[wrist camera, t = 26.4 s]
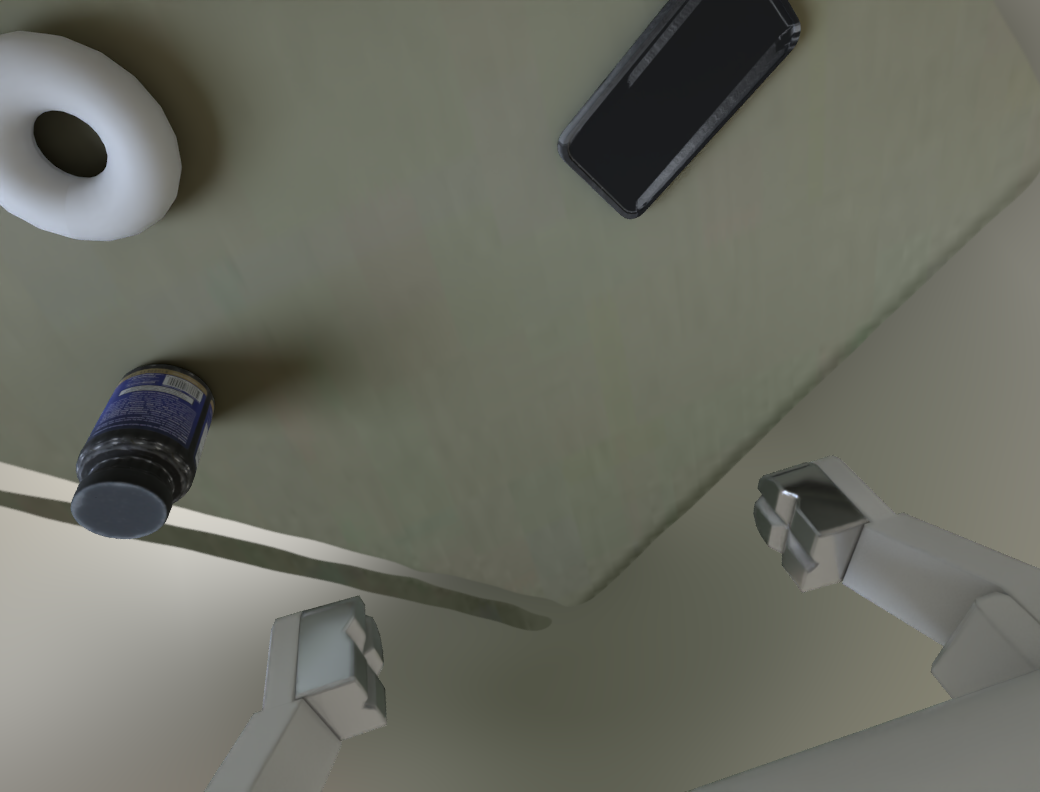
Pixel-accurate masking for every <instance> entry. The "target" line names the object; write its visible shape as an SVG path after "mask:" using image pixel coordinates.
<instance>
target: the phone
mask: <svg viewBox="0 0 1040 792" xmlns="http://www.w3.org/2000/svg"><path fill="white" fill-rule="evenodd" d="M800 31H801V27H800V22H799V19H798V17H797V15H796V14H795V12H794V10H793V9H792V7H791V5H790V3H789V2H788V0H669V1H668V2H667V3H666V5H665V6H664V7H663V8H662V9H661V11H660V12H659V13H658V14H657V16H656V17H655V18H654V19H653V21H652V22H651V23H650V24H649V26H648V27H647V28H646V29H645V31H644V32H643V33H642V34H641V35H640V37H639V38H638V39H637V40H636V42H635V43H634V44H633V45H632V47H631V48H630V49H629V50H628V52H627V53H626V54H625V55H624V57H623V58H622V59H621V60H620V61H619V63H618V64H617V65H616V66H615V68H614V69H613V70H612V71H611V73H610V74H609V75H608V76H607V78H606V79H605V80H604V81H603V83H602V84H601V85H600V86H599V87H598V89H597V90H596V91H595V92H594V94H593V95H592V96H591V97H590V99H589V100H588V101H587V102H586V104H585V105H584V106H583V107H582V109H581V110H580V111H579V112H578V113H577V115H576V116H575V117H574V118H573V120H572V121H571V122H570V123H569V125H568V126H567V127H566V128H565V130H564V131H563V132H562V134H561V135H560V137H559V140H558V152H559V155H560V156H561V158H562V159H563V160H564V161H565V162H566V163H567V164H568V165H569V166H570V167H571V168H572V169H573V170H574V171H575V172H576V173H577V174H578V175H579V176H580V177H582V178H583V179H584V180H585V181H586V182H587V183H588V184H589V185H590V186H591V187H592V188H593V189H594V190H595V191H596V192H597V193H598V194H599V195H600V196H601V197H602V198H603V199H604V200H605V201H606V202H607V203H609V204H610V205H611V206H612V207H613V208H614V209H615V210H616V211H617V212H618V213H619V214H620V215H621V216H623V217H624V218H627V219H634V218H637V217H639V216H641V215H642V214H643V213H644V212H645V211H646V210H647V209H648V208H649V207H650V205H651V204H652V203H653V202H654V201H655V200H656V199H657V198H658V197H659V196H660V194H661V193H662V192H663V191H664V190H665V189H666V188H667V187H668V186H669V185H670V184H671V182H672V181H673V180H674V179H675V178H676V177H677V176H678V175H679V174H680V173H681V171H682V170H683V169H684V168H685V167H686V166H687V165H688V164H689V163H690V162H691V160H692V159H693V158H694V157H695V156H696V155H697V154H698V153H699V152H700V151H701V150H702V148H703V147H704V146H705V145H706V144H707V143H708V142H709V141H710V140H711V139H712V137H713V136H714V135H715V134H716V133H717V132H718V131H719V130H720V129H721V128H722V127H723V125H724V124H725V123H726V122H727V121H728V120H729V119H730V118H731V117H732V116H733V114H734V113H735V112H736V111H737V110H738V109H739V108H740V107H741V106H742V105H743V103H744V102H745V101H746V100H747V99H748V98H749V97H750V96H751V95H752V94H753V93H754V91H755V90H756V89H757V88H758V87H759V86H760V85H761V84H762V83H763V82H764V80H765V79H766V78H767V77H768V76H769V75H770V74H771V73H772V72H773V71H774V69H775V68H776V67H777V66H778V65H779V64H780V63H781V62H782V61H783V60H784V59H785V57H786V56H787V55H788V54H789V53H790V52H791V51H792V50H793V48H794V47H795V45H796V44H797V42H798V39H799V36H800Z"/></svg>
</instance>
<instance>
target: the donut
mask: <svg viewBox="0 0 1040 792" xmlns="http://www.w3.org/2000/svg"><path fill="white" fill-rule="evenodd" d="M52 110H55V111H63V112H66V113H69V114H71V115H74V116H77V117H78V118H80V119H81V120H83V121H84V122H86V123H87V124H89V125H90V126H91V127H92V128H93V130H94V131H95V132H96V133H97V134H98V135H99V137H100V138H101V140H102V142H103V143H104V145H105V148H106V152H107V156H108V158H107V166H106V168H105V169H104V171H103V172H102V173H100V174H99V175H97V176H95V177H91V178H88V177H77V176H74V175H71V174H68V173H66V172H64V171H62V170H61V169H59V168H57V167H56V166H54V165H53V164H52V163H51V162H50V161H49V160H48V159H47V158H46V157H45V156H44V155H43V154H42V152H41V151H40V149H39V148H38V146H37V144H36V141H35V137H34V134H33V132H34V122H35V120H36V118H37V117H38V116H39V115H41V114H42V113H44V112H47V111H52ZM181 169H182V165H181V159H180V154H179V148H178V143H177V137H176V135H175V133H174V131H173V129H172V128H171V126H170V124H169V122H168V120H167V118H166V116H165V114H164V112H163V110H162V108H161V106H160V105H159V104H158V103H157V101H156V100H155V99H154V98H153V97H152V96H151V95H150V93H149V92H148V91H147V90H146V89H145V88H144V86H143V85H142V84H141V83H140V82H139V81H138V80H137V78H136V77H135V76H133V75H132V74H130V73H129V72H128V71H126V70H125V69H124V68H122V67H121V66H119V65H118V64H117V63H115V62H114V61H113V60H111V59H110V58H108V57H107V56H106V55H104V54H103V53H101V52H99V51H97V50H94V49H92V48H89V47H87V46H85V45H82V44H80V43H77V42H75V41H73V40H70V39H68V38H65V37H63V36H57V35H50V34H42V33H35V32H27V31H14V32H9V33H4V34H0V205H1V206H2V207H3V208H4V209H6V210H7V211H8V212H10V213H12V214H14V215H16V216H17V217H19V218H21V219H23V220H25V221H27V222H29V223H30V224H32V225H34V226H36V227H38V228H40V229H42V230H46V231H49V232H53V233H56V234H59V235H63V236H66V237H70V238H73V239H77V240H95V241H112V240H116V239H121V238H125V237H129V236H133V235H137V234H139V233H141V232H143V231H144V230H146V229H147V228H149V227H150V226H152V225H153V224H155V223H156V222H158V221H159V220H161V219H162V218H163V217H164V215H165V214H166V212H167V211H168V209H169V208H170V206H171V205H172V203H173V202H174V200H175V199H176V197H177V192H178V187H179V181H180V175H181Z"/></svg>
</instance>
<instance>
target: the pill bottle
mask: <svg viewBox="0 0 1040 792" xmlns="http://www.w3.org/2000/svg"><path fill="white" fill-rule="evenodd" d="M214 411H215V401H214V397H213V396H212V393H211V391H210V389H209V388H208V386H207V385H206V384H205V383H204V382H203V381H202V380H201V379H200V378H199V377H197V376H196V375H194V374H193V373H191V372H189V371H187V370H185V369H181V368H179V367H176V366H171V365H162V364H151V365H146V366H142V367H138V368H136V369H134V370H132V371H130V372H129V373H127V374H126V375H125V376H124V377H123V379H122V380H121V381H120V383H119V384H118V386H117V387H116V389H115V391H114V393H113V394H112V396H111V398H110V400H109V402H108V403H107V405H106V407H105V409H104V411H103V412H102V414H101V416H100V418H99V420H98V422H97V423H96V425H95V427H94V429H93V431H92V433H91V434H90V436H89V438H88V440H87V442H86V443H85V445H84V447H83V449H82V450H81V452H80V454H79V457H78V461H77V464H76V473H77V477H78V479H79V481H80V484H79V485H78V488H77V491H76V492H75V494H74V497H73V499H72V502H71V512H72V514H73V516H74V518H75V520H76V521H77V522H78V523H79V524H80V525H82V526H83V527H84V528H86V529H88V530H89V531H91V532H93V533H95V534H98V535H102V536H105V537H109V538H116V539H132V538H139V537H143V536H146V535H149V534H151V533H153V532H155V531H157V530H158V529H159V528H160V527H162V526H163V524H164V523H165V522H166V520H167V518H168V516H169V513H170V510H171V508H172V504H173V503H175V502H177V501H178V500H179V499H181V498H182V497H183V496H184V495H185V494H186V493H187V492H188V491H189V489H190V487H191V486H192V483H193V480H194V477H195V473H196V470H197V466H198V463H199V460H200V457H201V453H202V450H203V447H204V444H205V440H206V437H207V434H208V430H209V427H210V424H211V420H212V417H213V414H214Z"/></svg>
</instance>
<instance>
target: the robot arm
mask: <svg viewBox="0 0 1040 792" xmlns="http://www.w3.org/2000/svg"><path fill="white" fill-rule="evenodd" d="M758 490H759V491H760V492H761V493H762V495H761V497H760V498H759V499H758V500H757V501H756V502H755V506H754V518H755V522H756V526H757V528H758V531H759V533H760V535H761V536H762V538H763V539H764V541H765V542H766V544H767V545H768V547H770V548H772V549H774V550H776V551H778V552H780V553H782V566H783V567H784V569H785V570H786V571H787V573H788V574H789V576H790V577H791V578H792V580H793V581H794V582H795V584H796V585H797V586H798V588H799V589H800V590H801V592H806V591H810V590H813V589H817V588H820V587H824V586H827V585H831V584H834V583H838V582H841V581H843V582H842V584H844V585H845V586H847V587H849V588H850V589H852V590H853V591H855V592H856V593H858V594H860V595H861V596H863V597H865V598H866V599H868V600H869V601H871V602H873V603H874V604H876V605H877V606H879V607H881V608H882V609H884V610H886V611H887V612H889V613H891V614H892V615H894V616H896V617H897V618H899V619H900V620H902V621H903V622H905V623H907V624H908V625H910V626H912V627H913V628H915V629H916V630H918V631H920V632H921V633H923V634H925V635H926V636H928V637H930V638H931V639H933V640H934V641H936V642H938V643H939V644H941V645H943V646H944V647H943V648H942V650H941V652H940V653H939V654H938V656H937V657H936V659H935V660H934V662H933V663H932V668H931V673H932V674H933V675H934V676H935V678H936V679H937V680H938V682H939V683H940V684H941V685H942V687H943V688H944V689H945V690H946V692H947V693H948V694H949V695H950V697H951V698H952V699H951V700H948V701H945V702H942V703H939V704H936V705H933V706H930V707H928V708H925V709H922V710H919V711H916V712H914V713H911V714H908V715H905V716H902V717H899V718H896V719H893V720H890V721H887V722H885V723H882V724H879V725H876V726H873V727H870V728H868V729H864V730H862V731H859V732H856V733H853V734H850V735H847V736H844V737H841V738H839V739H836V740H833V741H830V742H827V743H824V744H821V745H818V746H816V747H813V748H810V749H807V750H804V751H802V752H798V753H796V754H793V755H790V756H787V757H784V758H781V759H778V760H776V761H773V762H770V763H767V764H764V765H761V766H758V767H756V768H753V769H750V770H747V771H744V772H741V773H738V774H735V775H732V776H730V777H727V778H724V779H721V780H718V781H715V782H712V783H709V784H707V785H704V786H701V787H698V788H695V789H693V790H689V791H686V792H1040V569H1039V568H1037V567H1035V566H1032V565H1030V564H1027V563H1025V562H1023V561H1020V560H1018V559H1015V558H1013V557H1010V556H1008V555H1005V554H1003V553H1001V552H998V551H996V550H993V549H991V548H989V547H986V546H984V545H981V544H979V543H976V542H974V541H972V540H969V539H967V538H964V537H961V536H959V535H957V534H954V533H952V532H950V531H947V530H945V529H942V528H940V527H938V526H935V525H933V524H930V523H928V522H925V521H923V520H920V519H918V518H916V517H913V516H910V515H908V514H906V513H899V514H896V513H895V512H894V511H893V510H892V509H891V508H890V507H889V506H888V505H887V504H886V503H885V502H884V501H883V500H882V499H881V498H880V497H879V496H877V494H876V493H875V492H874V491H873V490H872V489H870V487H869V486H868V485H866V483H865V482H863V480H861V479H860V478H859V477H858V476H857V475H856V474H855V473H854V472H853V471H852V470H851V469H850V468H849V467H848V466H847V465H846V464H845V463H844V462H843V461H842V460H841V459H840V458H838V457H836V456H834V455H832V456H827V457H824V458H821V459H818V460H814V461H812V462H805V463H802V464H799V465H795V466H792V467H789V468H786V469H783V470H780V471H776V472H773V473H770V474H767V475H763V476H762V478H760V480H759V483H758ZM383 666H384V661H383V649H382V644H381V638H380V634H379V631H378V628H377V625H376V623H375V621H374V619H373V618H372V617H370V616H367V615H365V604H364V603H363V601H362V599H361V598H360V596H355V597H352V598H348V599H345V600H341V601H338V602H334V603H330V604H327V605H323V606H319V607H316V608H312V609H308V610H304V611H300V612H297V613H294V614H290V615H287V616H284V617H280V618H277V619H275V622H274V624H273V627H272V629H271V637H270V646H269V655H268V664H267V672H266V681H265V690H264V699H263V708H262V711H259V712H256V713H254V714H253V715H252V717H251V719H250V720H249V722H248V723H247V725H246V726H245V728H244V730H243V731H242V733H241V734H240V736H239V737H238V739H237V741H236V742H235V744H234V745H233V747H232V748H231V750H230V751H229V753H228V755H227V756H226V758H225V759H224V761H223V762H222V764H221V766H220V767H219V769H218V770H217V772H216V773H215V775H214V777H213V778H212V780H211V781H210V783H209V784H208V786H207V788H206V789H205V791H204V792H322V789H323V787H324V785H325V783H326V780H327V778H328V776H329V773H330V771H331V768H332V766H333V764H334V762H335V759H336V757H337V755H338V752H339V750H340V747H341V745H342V742H341V741H342V740H345V739H348V738H351V737H354V736H357V735H359V734H362V733H365V732H368V731H371V730H374V729H377V728H380V727H382V726H385V725H387V717H386V697H385V688H384V686H383V684H382V683H381V681H380V680H379V678H378V675H379V673H380V671H381V669H382V668H383Z"/></svg>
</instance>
